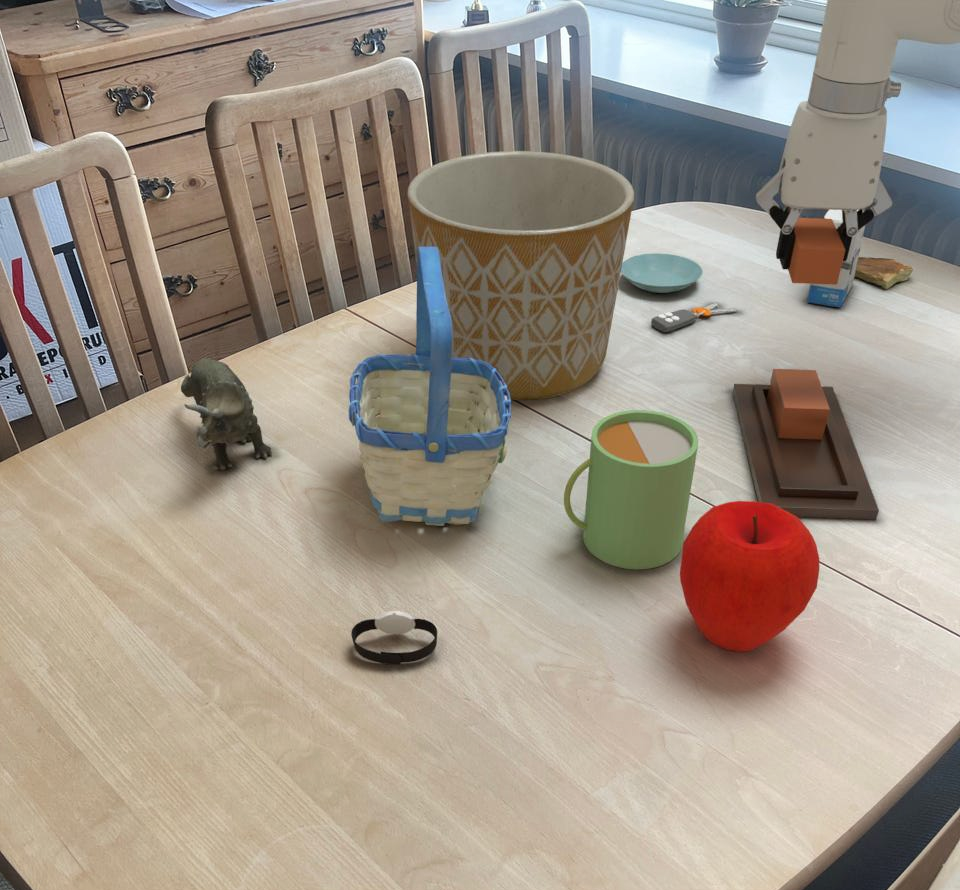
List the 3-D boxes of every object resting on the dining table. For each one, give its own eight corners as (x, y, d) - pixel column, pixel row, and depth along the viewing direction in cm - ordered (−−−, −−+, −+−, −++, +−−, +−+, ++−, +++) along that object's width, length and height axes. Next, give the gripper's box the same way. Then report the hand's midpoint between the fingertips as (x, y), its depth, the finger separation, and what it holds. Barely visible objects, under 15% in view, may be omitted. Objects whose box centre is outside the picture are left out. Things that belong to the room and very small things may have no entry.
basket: (517, 542, 107) (523, 326, 91) (356, 548, 106) (335, 332, 90) (500, 434, 122) (503, 233, 106) (359, 439, 121) (341, 237, 105)
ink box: (839, 309, 146) (860, 225, 138) (803, 302, 148) (822, 219, 140) (852, 286, 152) (873, 203, 144) (817, 279, 154) (836, 198, 146)
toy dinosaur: (184, 404, 127) (165, 317, 119) (253, 394, 129) (239, 307, 121) (205, 505, 112) (185, 412, 104) (284, 491, 114) (270, 399, 106)
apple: (800, 603, 100) (832, 486, 91) (799, 688, 91) (834, 569, 82) (675, 585, 102) (694, 469, 93) (663, 667, 93) (683, 548, 84)
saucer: (602, 283, 153) (603, 267, 151) (654, 260, 159) (656, 245, 157) (664, 309, 146) (666, 293, 145) (716, 284, 152) (719, 269, 151)
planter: (624, 324, 143) (641, 156, 128) (608, 423, 124) (625, 240, 109) (438, 309, 146) (433, 144, 131) (394, 403, 127) (383, 223, 112)
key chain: (666, 335, 141) (668, 325, 140) (648, 325, 143) (649, 315, 142) (737, 312, 146) (739, 302, 145) (719, 302, 148) (721, 292, 147)
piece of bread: (822, 266, 157) (825, 254, 156) (854, 253, 161) (857, 242, 159) (884, 290, 151) (887, 278, 150) (915, 277, 154) (918, 265, 153)
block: (781, 251, 124) (788, 217, 121) (824, 252, 124) (832, 218, 121) (792, 283, 118) (799, 248, 115) (837, 284, 117) (845, 249, 115)
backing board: (732, 392, 129) (739, 353, 126) (830, 395, 129) (840, 356, 125) (761, 515, 110) (770, 474, 107) (876, 519, 110) (889, 478, 106)
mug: (663, 503, 112) (678, 403, 104) (695, 563, 104) (713, 461, 96) (549, 515, 110) (554, 415, 102) (572, 577, 103) (580, 474, 95)
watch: (438, 632, 97) (437, 602, 94) (437, 667, 93) (436, 637, 91) (354, 633, 97) (351, 603, 94) (351, 668, 93) (348, 638, 91)
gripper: (922, 85, 110) (878, 255, 123) (759, 81, 111) (731, 250, 124) (939, 106, 105) (891, 282, 117) (767, 102, 106) (737, 276, 118)
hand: (809, 264), depth 120 cm, fingers closed on block, 5 cm apart
